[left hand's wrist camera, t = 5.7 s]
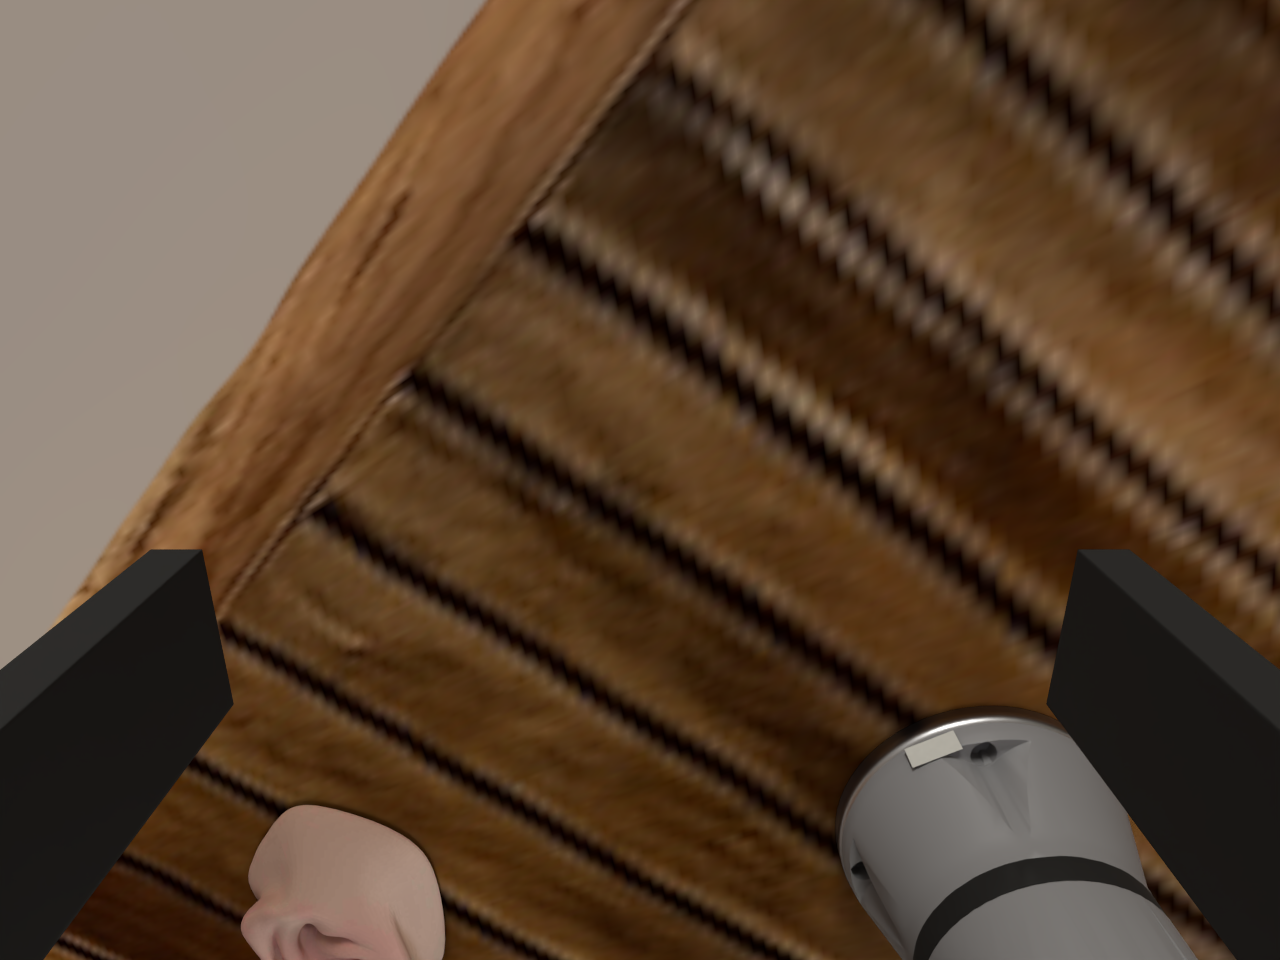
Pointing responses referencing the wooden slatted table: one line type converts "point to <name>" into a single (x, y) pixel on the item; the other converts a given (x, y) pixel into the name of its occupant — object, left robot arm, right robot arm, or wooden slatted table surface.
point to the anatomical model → (341, 891)
